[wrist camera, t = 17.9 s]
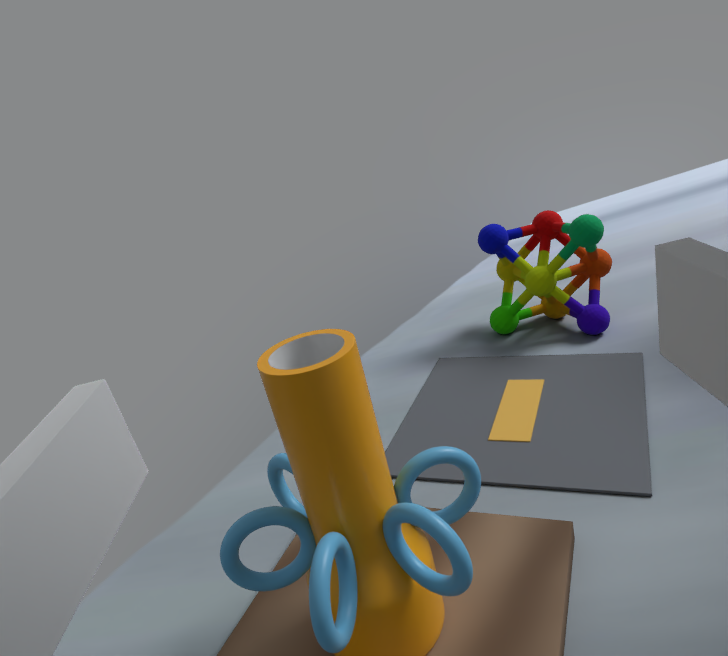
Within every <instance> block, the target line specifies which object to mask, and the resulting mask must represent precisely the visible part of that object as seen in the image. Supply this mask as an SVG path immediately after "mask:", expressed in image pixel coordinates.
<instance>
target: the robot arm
mask: <svg viewBox="0 0 728 656" xmlns="http://www.w3.org/2000/svg"><path fill="white" fill-rule="evenodd" d="M655 258H656V279H657V300H658V322H659V343H660V354H661V355H663V356H664V357H665V358H666V359H668V360H669V361H670V362H671V363H673V364H674V365H675V366H677V367H678V368H679V369H680V370H682V371H683V372H684V373H685V374H687V375H688V376H689V377H691V378H692V379H693V380H694V381H696V382H697V383H698V384H699V385H701V386H702V387H703V388H704V389H706V390H707V391H708V392H710V393H711V394H712V395H713V396H715V397H716V398H717V399H718V400H720V401H721V402H722V403H723V404H725V405H726V406H727V407H728V252H725V251H723V250H720V249H717V248H715V247H712V246H710V245H707V244H705V243H702V242H699V241H697V240H694V239H692V238H685V239H681V240H676V241H672V242H668V243H664V244H660V245H656V246H655ZM148 472H149V471H148V469H147V467H146V465H145V463H144V461H143V458H142V456H141V454H140V452H139V450H138V448H137V446H136V444H135V442H134V439H133V437H132V435H131V433H130V431H129V429H128V427H127V425H126V423H125V420H124V418H123V416H122V414H121V412H120V410H119V408H118V406H117V403H116V401H115V399H114V397H113V395H112V393H111V391H110V389H109V387H108V384H107V382H106V380H105V379H102V380H97V381H93V382H89V383H85V384H81V385H77V386H74V387H73V388H72V389H71V390H70V391H69V392H68V393H67V395H66V396H65V397H64V398H63V399H62V400H61V401H60V402H59V403H58V404H57V405H56V406H55V407H54V408H53V409H52V411H50V413H49V414H48V415H47V416H46V417H45V418H44V419H43V420H42V421H41V422H40V423H39V424H38V425H37V426H36V427H35V429H34V430H33V431H32V432H31V433H30V434H29V435H28V436H27V437H26V438H25V439H24V440H23V441H22V442H21V443H20V445H18V447H17V448H16V449H15V450H14V451H13V452H12V453H11V454H10V455H9V456H8V457H7V458H6V459H5V460H4V461H3V462H2V463H1V465H0V656H52V655H53V653H54V652H55V650H56V648H57V646H58V644H59V642H60V640H61V638H62V636H63V634H64V632H65V631H66V629H67V627H68V625H69V623H70V621H71V619H72V617H73V615H74V613H75V611H76V610H77V608H78V606H79V604H80V602H81V600H82V598H83V596H84V594H85V592H86V590H87V588H88V587H89V585H90V583H91V581H92V579H93V577H94V575H95V573H96V571H97V569H98V567H99V565H100V564H101V562H102V560H103V558H104V556H105V554H106V552H107V550H108V548H109V546H110V544H111V543H112V541H113V539H114V537H115V535H116V533H117V531H118V529H119V527H120V525H121V523H122V521H123V520H124V518H125V516H126V514H127V512H128V510H129V508H130V506H131V504H132V502H133V501H134V498H135V497H136V495H137V493H138V491H139V489H140V487H141V485H142V483H143V481H144V479H145V478H146V476H147V474H148Z"/></svg>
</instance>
